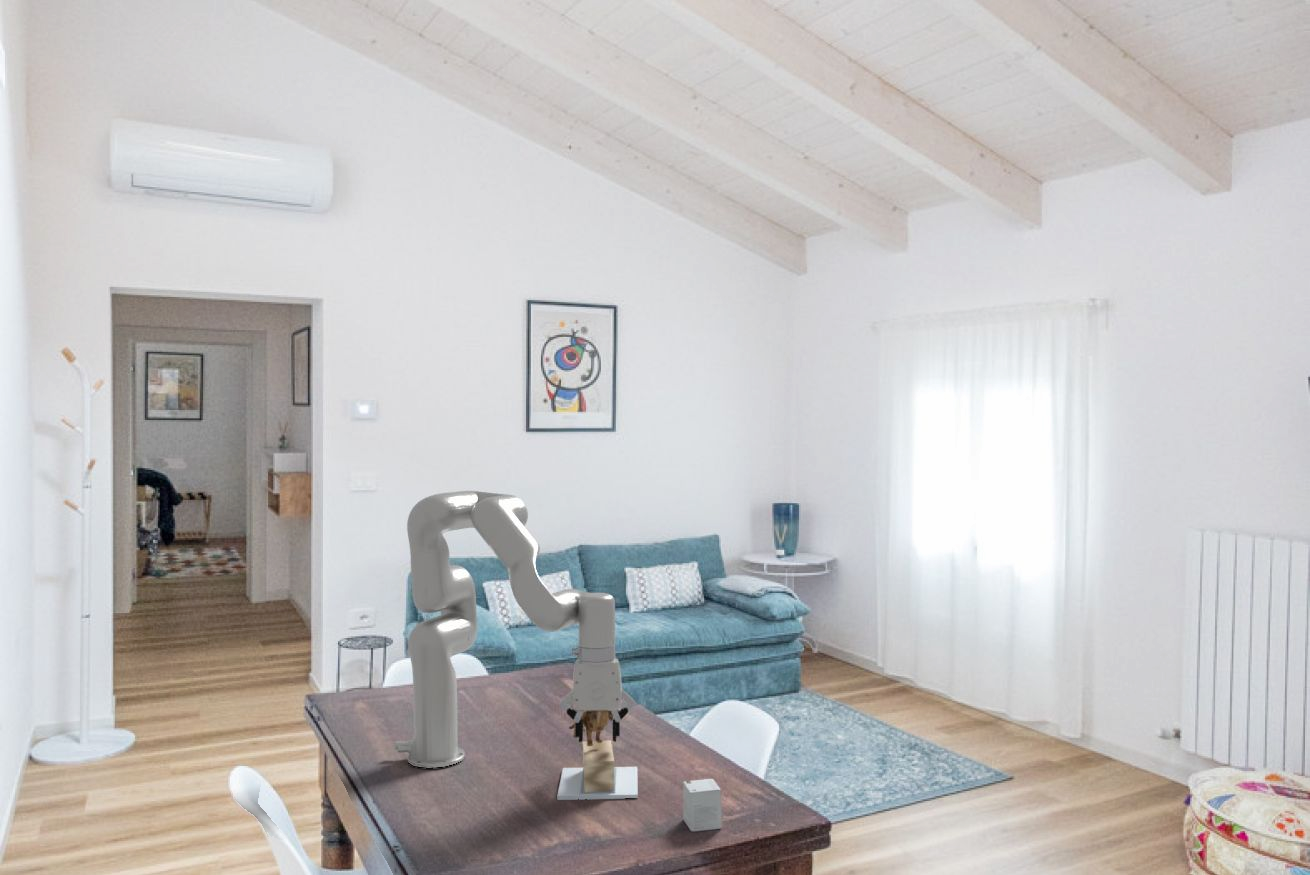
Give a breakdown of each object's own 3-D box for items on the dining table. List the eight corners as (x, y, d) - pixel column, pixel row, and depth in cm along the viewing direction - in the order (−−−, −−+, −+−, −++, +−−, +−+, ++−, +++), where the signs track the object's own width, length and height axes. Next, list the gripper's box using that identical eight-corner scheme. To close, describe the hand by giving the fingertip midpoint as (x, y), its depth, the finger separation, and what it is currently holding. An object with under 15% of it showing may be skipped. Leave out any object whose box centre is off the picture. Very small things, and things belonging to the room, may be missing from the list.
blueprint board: (557, 800, 196) (557, 795, 196) (563, 771, 212) (563, 767, 212) (637, 798, 197) (637, 793, 197) (637, 770, 213) (637, 765, 213)
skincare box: (722, 829, 181) (722, 789, 181) (690, 832, 180) (690, 792, 180) (713, 816, 187) (713, 777, 187) (682, 819, 186) (682, 780, 186)
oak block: (584, 792, 198) (584, 762, 198) (583, 769, 211) (582, 741, 210) (614, 790, 198) (614, 761, 198) (611, 768, 211) (610, 740, 211)
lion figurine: (618, 745, 204) (618, 702, 204) (597, 751, 201) (597, 707, 200) (578, 728, 215) (578, 687, 215) (558, 733, 212) (557, 692, 212)
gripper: (553, 658, 200) (554, 746, 200) (639, 657, 200) (639, 745, 201) (556, 649, 208) (557, 734, 208) (638, 649, 208) (639, 733, 208)
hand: (597, 739), depth 204 cm, fingers closed on lion figurine, 6 cm apart
